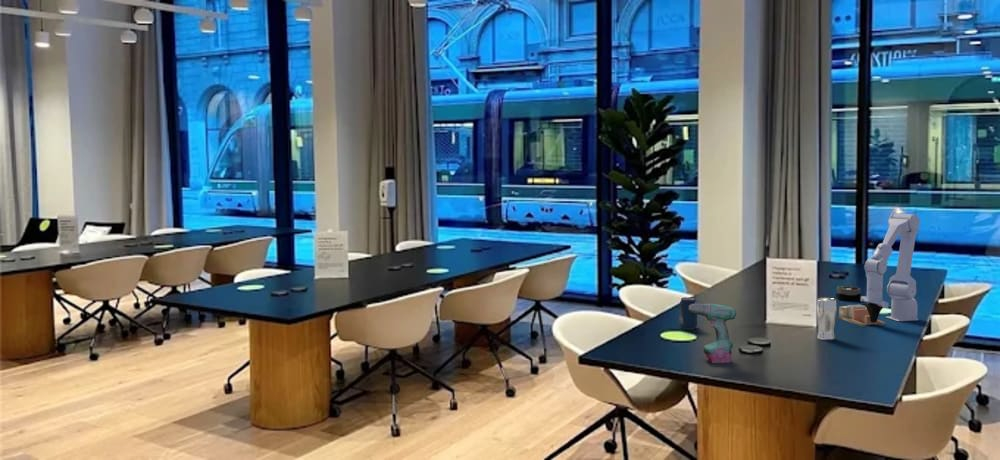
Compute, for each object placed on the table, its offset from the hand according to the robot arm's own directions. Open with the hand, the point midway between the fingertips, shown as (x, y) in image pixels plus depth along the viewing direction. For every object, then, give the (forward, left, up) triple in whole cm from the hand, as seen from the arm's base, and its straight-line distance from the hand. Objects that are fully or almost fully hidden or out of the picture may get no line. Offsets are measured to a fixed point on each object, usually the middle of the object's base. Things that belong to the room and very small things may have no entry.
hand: (873, 322), depth 321 cm
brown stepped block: (0, -5, -1) cm, 5 cm away
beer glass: (+31, +14, -2) cm, 34 cm away
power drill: (+86, +32, -2) cm, 91 cm away
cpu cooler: (-23, -51, -2) cm, 56 cm away
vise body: (0, -8, -1) cm, 8 cm away
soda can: (+73, -16, -2) cm, 74 cm away
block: (0, -11, -1) cm, 11 cm away
